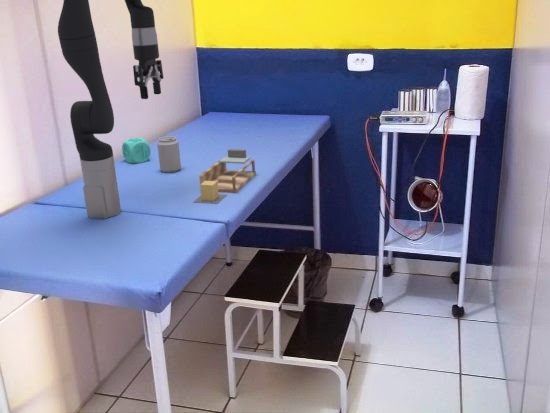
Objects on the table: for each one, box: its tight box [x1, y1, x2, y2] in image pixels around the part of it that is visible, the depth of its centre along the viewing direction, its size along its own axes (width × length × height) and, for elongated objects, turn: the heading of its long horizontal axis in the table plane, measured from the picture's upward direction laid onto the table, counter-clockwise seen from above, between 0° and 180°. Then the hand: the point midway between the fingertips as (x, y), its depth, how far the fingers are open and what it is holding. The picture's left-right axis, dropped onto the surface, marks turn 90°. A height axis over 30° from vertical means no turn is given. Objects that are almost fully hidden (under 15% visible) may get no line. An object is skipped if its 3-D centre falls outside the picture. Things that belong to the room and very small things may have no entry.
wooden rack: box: [198, 157, 257, 194], centre depth 199 cm, size 20×12×6 cm, turn 163°
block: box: [199, 181, 220, 201], centre depth 184 cm, size 4×4×5 cm
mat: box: [192, 193, 228, 205], centre depth 185 cm, size 8×8×1 cm
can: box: [156, 135, 182, 174], centre depth 216 cm, size 8×8×12 cm
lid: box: [218, 148, 252, 165], centre depth 204 cm, size 6×9×3 cm
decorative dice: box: [121, 137, 152, 164], centre depth 231 cm, size 8×8×8 cm
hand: (151, 96), depth 189 cm, fingers open, 8 cm apart
